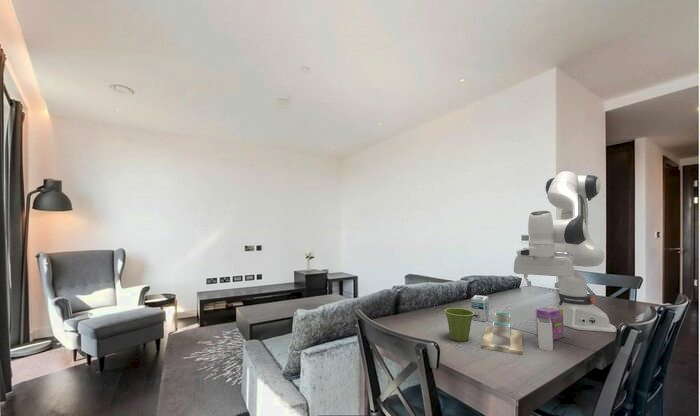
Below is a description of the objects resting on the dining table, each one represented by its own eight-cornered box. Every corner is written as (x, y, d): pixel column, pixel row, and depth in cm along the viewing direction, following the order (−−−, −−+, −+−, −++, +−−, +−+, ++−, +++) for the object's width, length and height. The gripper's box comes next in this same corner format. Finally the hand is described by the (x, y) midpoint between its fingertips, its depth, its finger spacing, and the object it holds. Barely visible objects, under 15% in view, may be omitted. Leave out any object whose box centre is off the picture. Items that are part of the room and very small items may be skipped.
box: (550, 341, 129) (549, 311, 130) (536, 337, 134) (535, 308, 135) (564, 337, 134) (563, 308, 134) (550, 333, 139) (549, 305, 139)
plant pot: (458, 345, 124) (458, 316, 125) (439, 336, 135) (438, 309, 135) (481, 341, 129) (480, 313, 129) (460, 332, 139) (459, 306, 140)
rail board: (521, 333, 138) (520, 313, 138) (522, 354, 115) (521, 329, 115) (486, 328, 144) (486, 309, 145) (481, 348, 121) (480, 324, 122)
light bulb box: (485, 322, 155) (485, 299, 156) (471, 320, 159) (470, 298, 159) (489, 317, 164) (488, 296, 165) (475, 315, 168) (475, 294, 168)
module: (551, 344, 125) (550, 318, 125) (553, 351, 119) (551, 323, 119) (537, 343, 127) (537, 317, 127) (539, 348, 121) (538, 321, 121)
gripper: (571, 252, 123) (573, 287, 122) (513, 250, 132) (514, 283, 132) (574, 253, 117) (576, 290, 117) (513, 251, 127) (514, 285, 126)
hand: (542, 286), depth 124 cm, fingers open, 8 cm apart
